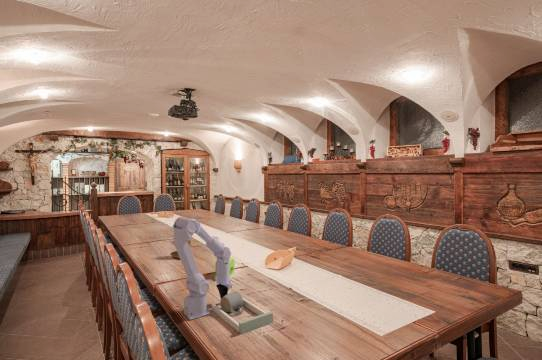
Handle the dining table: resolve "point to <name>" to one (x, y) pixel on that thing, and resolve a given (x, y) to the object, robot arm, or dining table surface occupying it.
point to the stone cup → (177, 252)
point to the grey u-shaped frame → (250, 323)
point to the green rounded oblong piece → (231, 267)
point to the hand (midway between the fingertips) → (223, 299)
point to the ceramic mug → (232, 302)
